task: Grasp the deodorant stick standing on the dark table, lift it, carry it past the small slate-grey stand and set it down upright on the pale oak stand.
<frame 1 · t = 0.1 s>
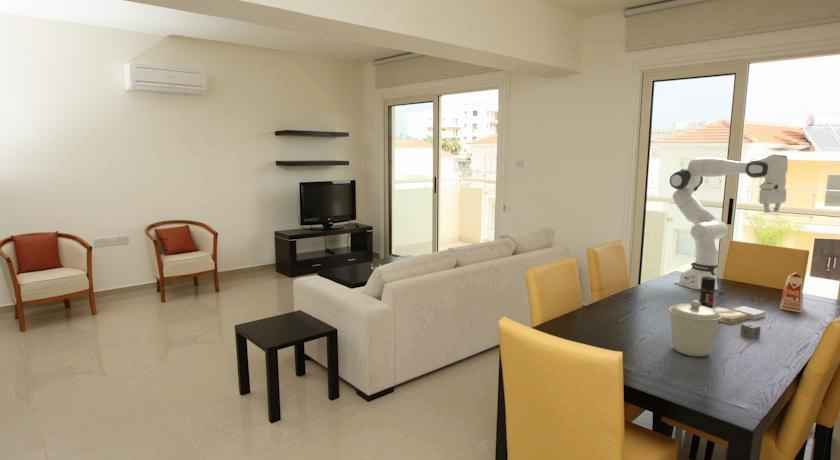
hand: (771, 212, 259), 48 cm above the table, fingers open, 8 cm apart
deodorant: (705, 307, 256), on the table
oak stand: (724, 317, 239), on the table
dice cube: (749, 336, 216), on the table
milk carton: (790, 308, 254), on the table
grey stand: (748, 315, 243), on the table
canister: (690, 352, 198), on the table
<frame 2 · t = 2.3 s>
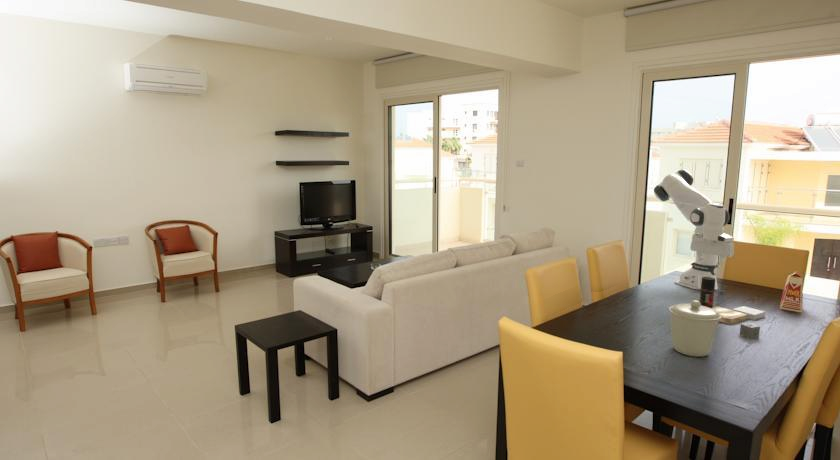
hand: (710, 262, 252), 23 cm above the table, fingers open, 8 cm apart
nothing on the table moved.
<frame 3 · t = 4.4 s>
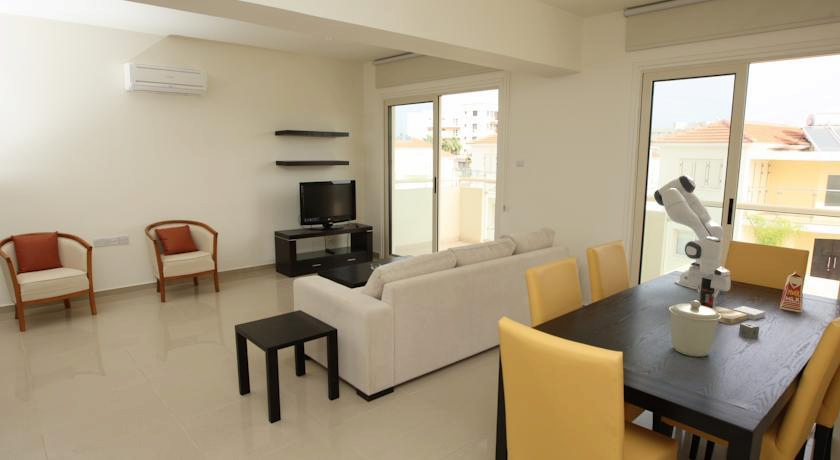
hand: (706, 295, 255), 6 cm above the table, fingers closed on deodorant, 6 cm apart
deodorant: (705, 307, 256), on the table, touching gripper
everything else where it was.
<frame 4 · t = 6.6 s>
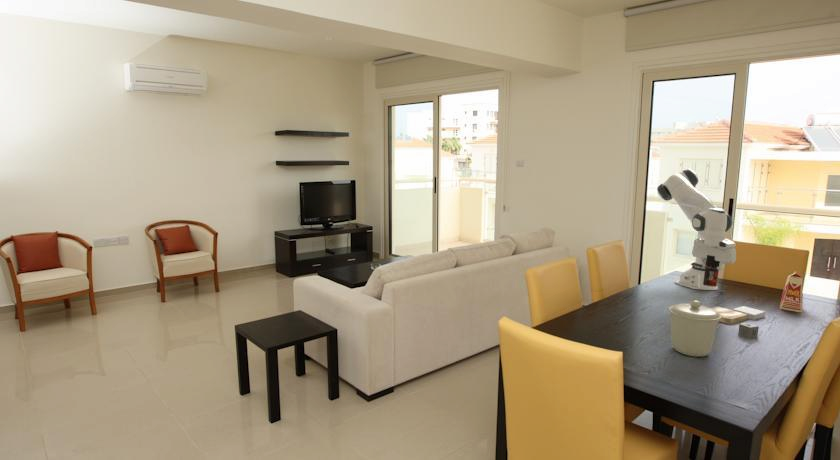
hand: (712, 268, 247), 21 cm above the table, fingers closed on deodorant, 6 cm apart
deodorant: (709, 285, 248), point 13 cm above the table, touching gripper
everything else where it was.
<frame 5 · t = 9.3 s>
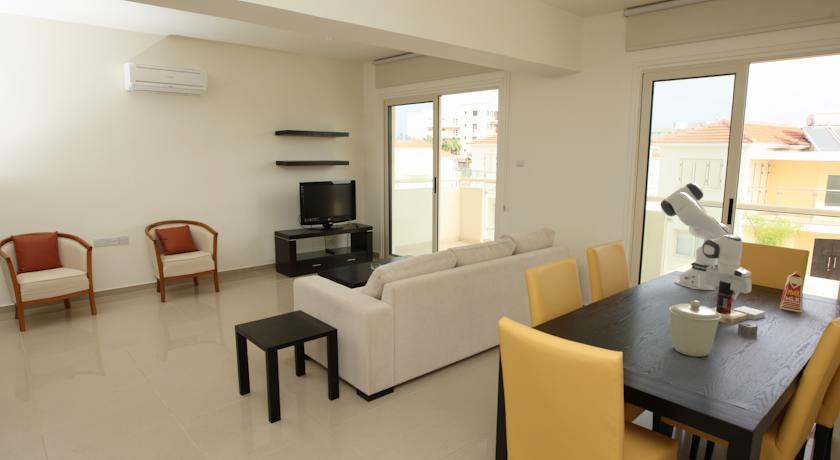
hand: (725, 297, 238), 10 cm above the table, fingers closed on deodorant, 6 cm apart
deodorant: (723, 312, 239), point 3 cm above the table, touching gripper, oak stand
when the fingers open (10 cm above the table, at t = 9.9 s): deodorant stays where it is, resting on oak stand.
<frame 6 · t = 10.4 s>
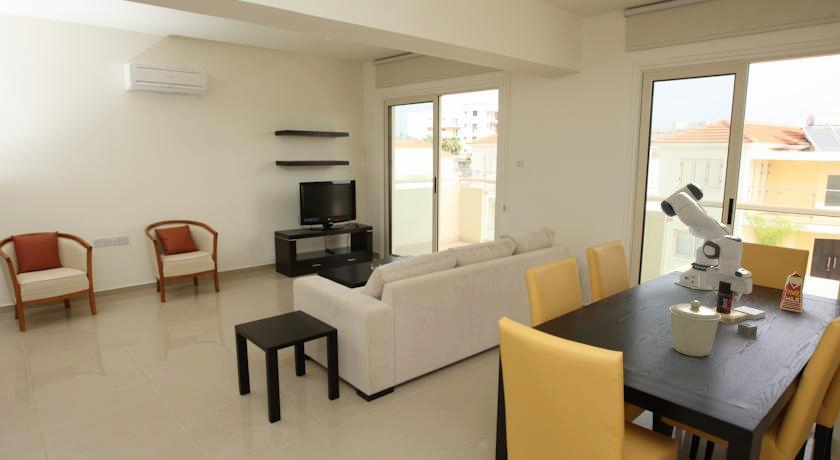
hand: (726, 298, 238), 10 cm above the table, fingers open, 8 cm apart
deodorant: (723, 312, 239), point 3 cm above the table, touching oak stand
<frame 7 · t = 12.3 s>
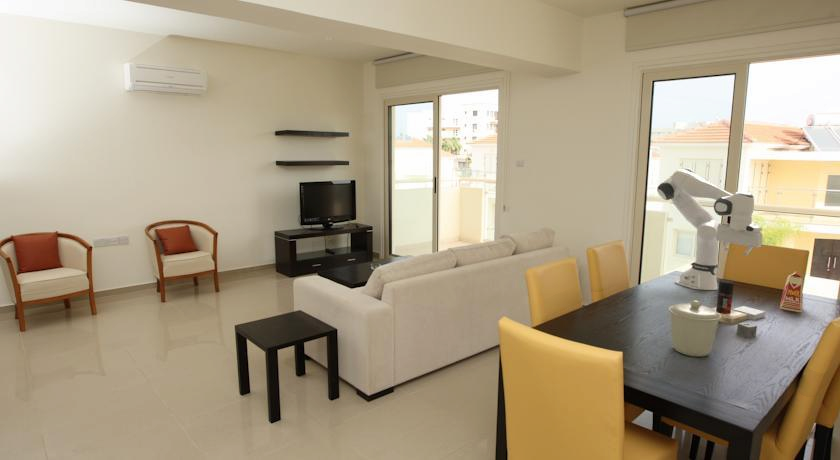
hand: (736, 252, 248), 29 cm above the table, fingers open, 8 cm apart
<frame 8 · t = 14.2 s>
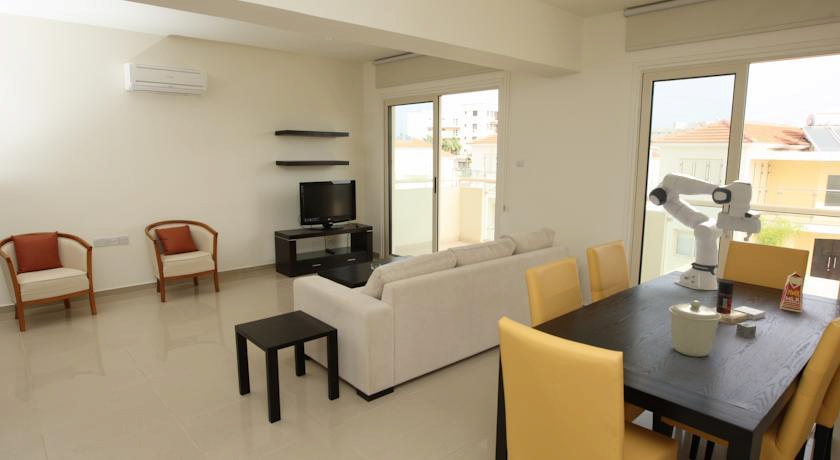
hand: (736, 239, 255), 34 cm above the table, fingers open, 8 cm apart
at the end: deodorant inside the target area on the oak stand (0.7 cm from its centre), point 2.5 cm above the oak stand's base; deodorant tilted 0°; deodorant touching oak stand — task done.
